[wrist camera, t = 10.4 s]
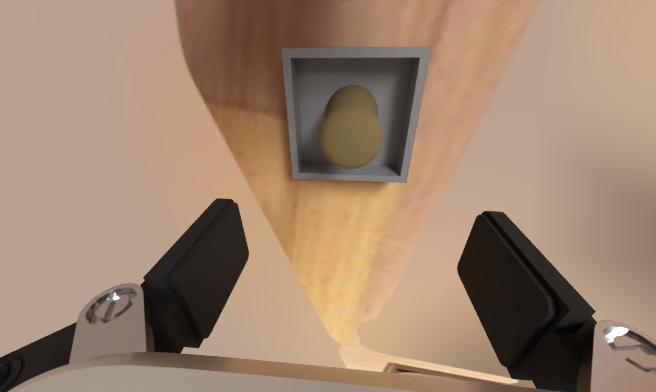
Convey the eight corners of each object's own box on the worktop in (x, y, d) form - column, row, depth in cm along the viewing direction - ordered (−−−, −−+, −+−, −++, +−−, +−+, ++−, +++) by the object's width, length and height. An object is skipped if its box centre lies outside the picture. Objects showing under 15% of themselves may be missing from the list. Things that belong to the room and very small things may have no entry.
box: (290, 48, 26) (281, 48, 22) (420, 47, 25) (431, 46, 21) (298, 165, 33) (292, 178, 29) (400, 168, 32) (406, 182, 28)
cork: (330, 142, 30) (319, 183, 21) (321, 89, 27) (304, 110, 18) (379, 135, 29) (392, 175, 20) (376, 80, 26) (389, 97, 17)
